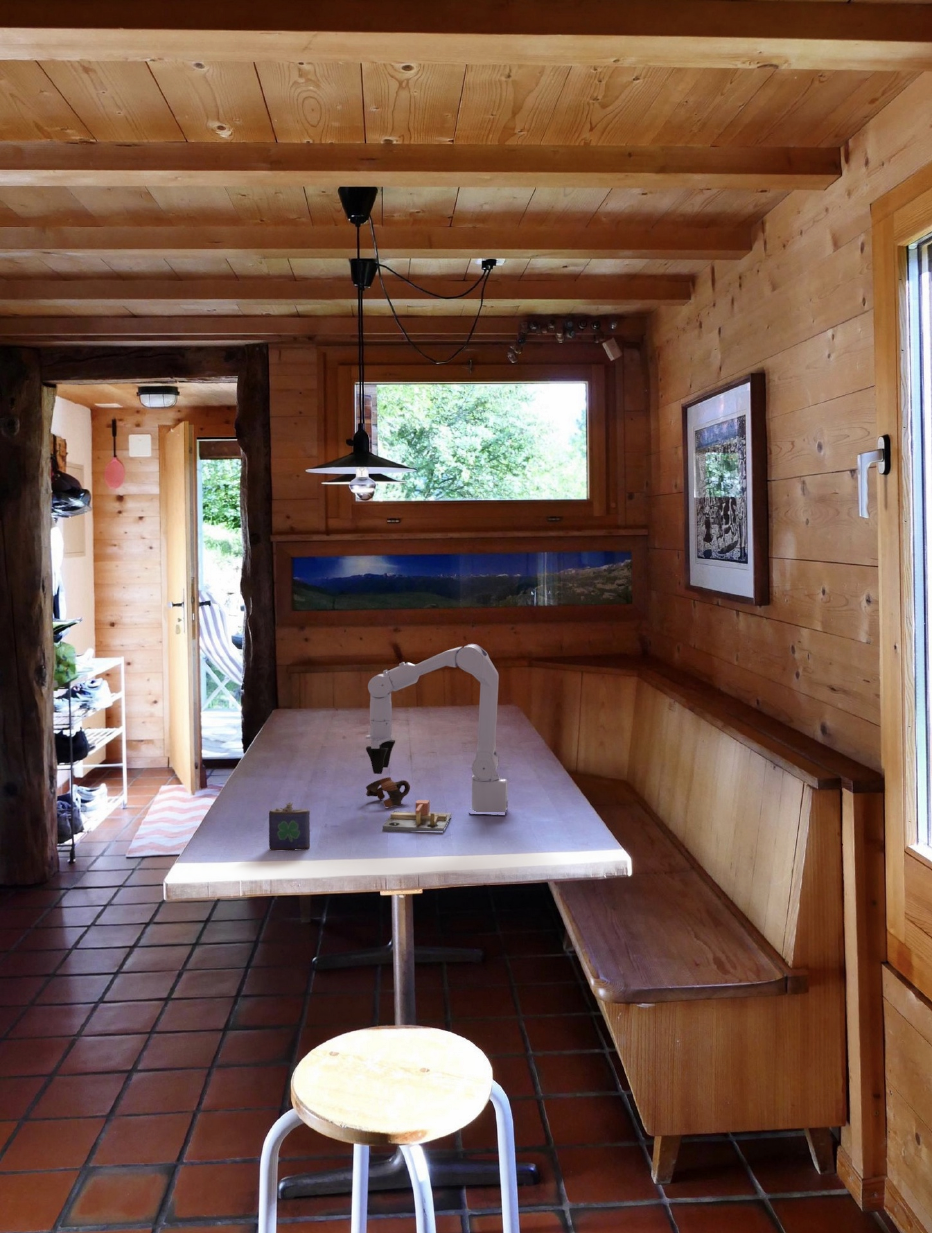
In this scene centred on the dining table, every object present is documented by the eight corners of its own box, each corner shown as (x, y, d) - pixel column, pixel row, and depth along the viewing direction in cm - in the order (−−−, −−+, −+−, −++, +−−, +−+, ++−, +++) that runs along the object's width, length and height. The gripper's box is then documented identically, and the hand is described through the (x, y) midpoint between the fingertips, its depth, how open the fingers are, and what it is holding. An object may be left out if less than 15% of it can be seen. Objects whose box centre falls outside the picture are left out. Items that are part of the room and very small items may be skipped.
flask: (310, 846, 218) (309, 800, 217) (309, 850, 215) (308, 804, 215) (269, 847, 217) (269, 801, 217) (268, 851, 214) (267, 804, 214)
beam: (446, 818, 238) (446, 806, 238) (442, 826, 230) (442, 814, 230) (392, 816, 240) (392, 804, 239) (385, 824, 232) (385, 812, 232)
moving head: (429, 815, 239) (429, 800, 239) (423, 825, 230) (423, 809, 230) (417, 814, 239) (417, 799, 239) (411, 825, 230) (410, 809, 230)
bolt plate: (451, 817, 243) (451, 812, 243) (443, 833, 229) (443, 827, 229) (394, 815, 245) (394, 810, 245) (382, 830, 231) (382, 825, 231)
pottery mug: (376, 812, 250) (365, 783, 252) (371, 819, 258) (360, 791, 261) (418, 796, 254) (406, 768, 257) (411, 804, 263) (400, 776, 265)
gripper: (372, 714, 259) (372, 764, 259) (359, 723, 244) (359, 776, 245) (397, 715, 258) (397, 764, 259) (386, 724, 243) (386, 776, 244)
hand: (381, 770), depth 252 cm, fingers open, 7 cm apart
